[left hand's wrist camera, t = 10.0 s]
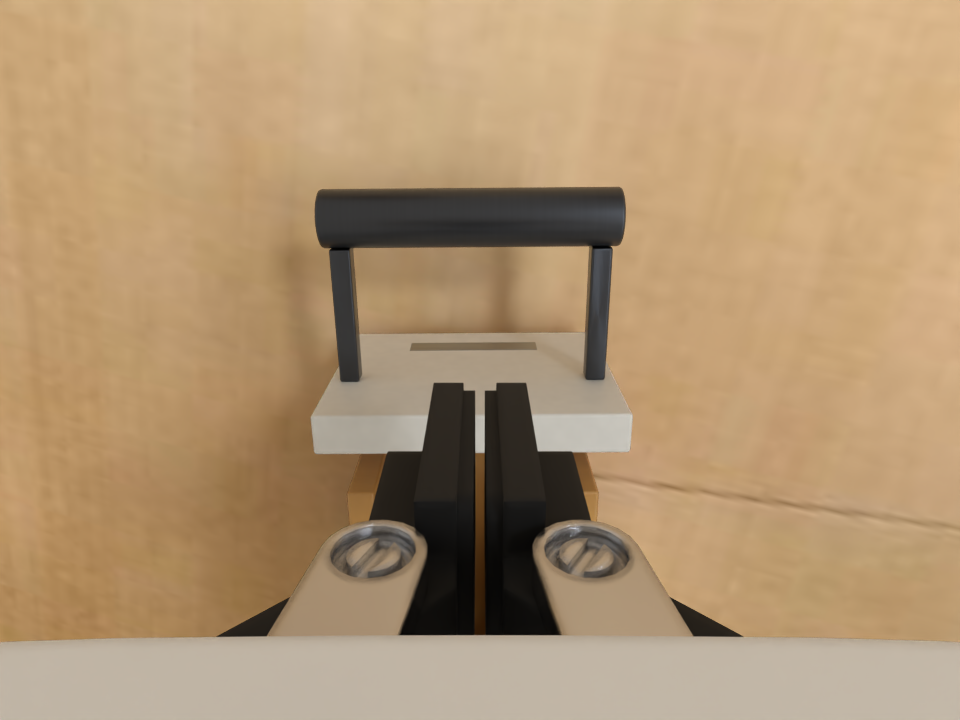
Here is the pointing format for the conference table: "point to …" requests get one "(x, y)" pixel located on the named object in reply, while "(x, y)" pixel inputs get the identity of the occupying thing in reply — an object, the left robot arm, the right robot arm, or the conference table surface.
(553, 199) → the drawer
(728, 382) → the conference table surface
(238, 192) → the conference table surface
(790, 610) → the conference table surface
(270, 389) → the conference table surface
